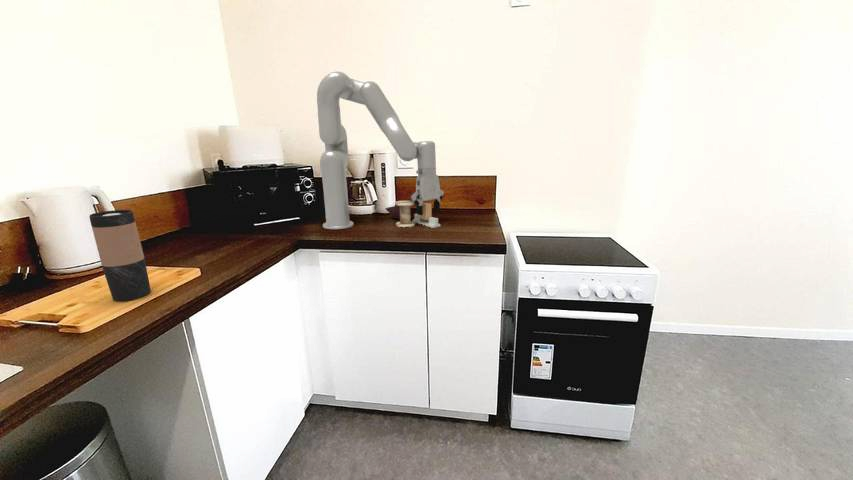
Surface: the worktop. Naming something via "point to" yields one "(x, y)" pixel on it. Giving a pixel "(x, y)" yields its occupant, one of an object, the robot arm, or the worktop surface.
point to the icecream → (394, 211)
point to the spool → (405, 214)
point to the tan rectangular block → (426, 212)
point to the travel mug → (121, 254)
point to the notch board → (432, 223)
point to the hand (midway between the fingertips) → (428, 213)
